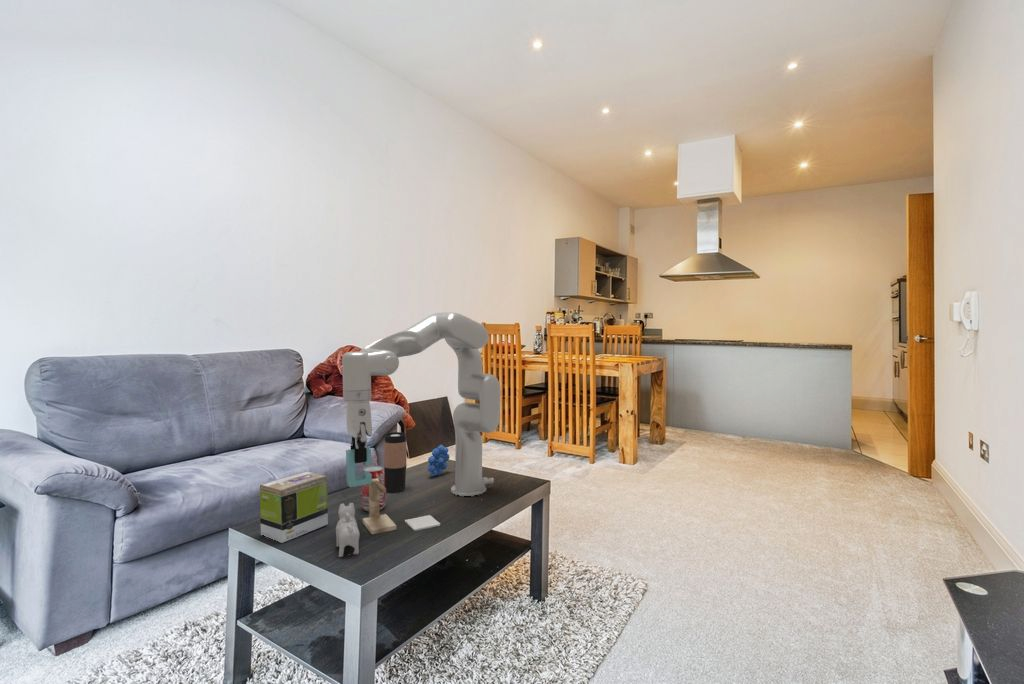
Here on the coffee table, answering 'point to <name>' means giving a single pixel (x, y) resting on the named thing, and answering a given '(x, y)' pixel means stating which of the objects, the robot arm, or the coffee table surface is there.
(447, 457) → the grapes
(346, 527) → the dog figurine
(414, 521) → the felt mat
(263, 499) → the tea box
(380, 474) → the soda can
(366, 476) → the c link
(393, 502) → the coffee table surface
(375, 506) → the stand
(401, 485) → the travel mug
